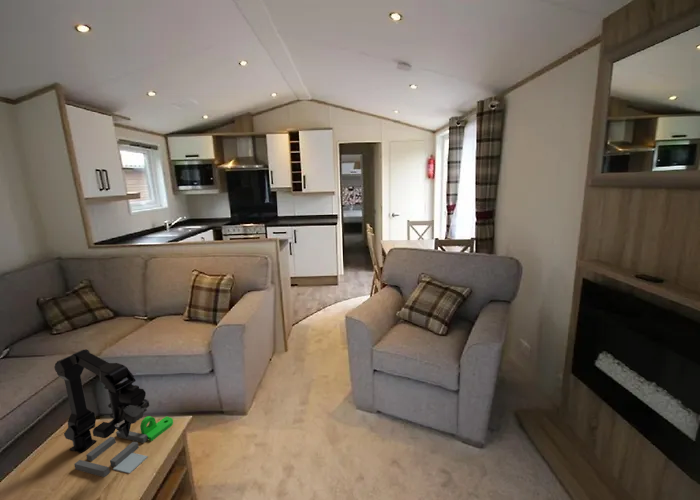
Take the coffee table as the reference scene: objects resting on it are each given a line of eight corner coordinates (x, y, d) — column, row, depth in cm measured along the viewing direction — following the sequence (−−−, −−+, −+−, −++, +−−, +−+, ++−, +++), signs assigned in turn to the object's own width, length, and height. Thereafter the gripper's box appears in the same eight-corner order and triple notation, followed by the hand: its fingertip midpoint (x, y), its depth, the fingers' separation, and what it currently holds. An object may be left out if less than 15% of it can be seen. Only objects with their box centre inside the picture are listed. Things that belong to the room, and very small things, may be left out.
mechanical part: (151, 441, 140) (149, 424, 139) (142, 438, 143) (139, 421, 141) (176, 423, 151) (174, 407, 150) (166, 420, 154) (164, 404, 152)
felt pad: (113, 469, 127) (112, 468, 127) (131, 453, 134) (131, 452, 134) (129, 473, 124) (129, 472, 124) (147, 457, 132) (147, 456, 132)
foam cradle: (75, 469, 127) (74, 463, 127) (121, 434, 145) (120, 429, 145) (104, 477, 123) (103, 471, 123) (148, 440, 141) (147, 434, 141)
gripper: (112, 419, 113) (120, 459, 116) (157, 387, 131) (163, 423, 134) (88, 414, 116) (95, 454, 119) (135, 384, 134) (140, 419, 137)
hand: (126, 436), depth 127 cm, fingers closed
